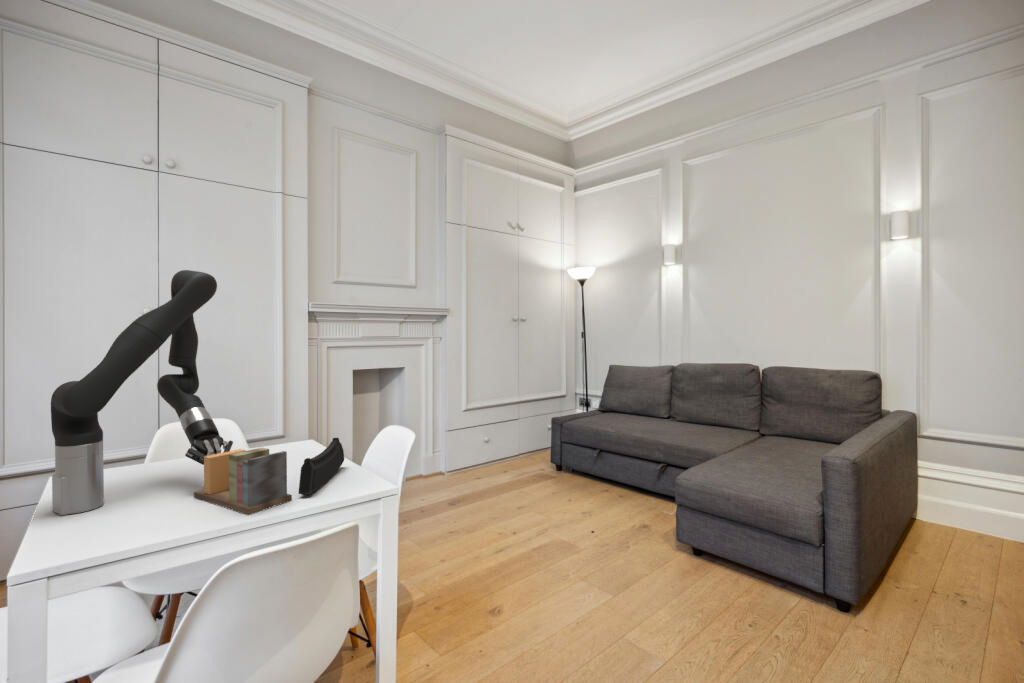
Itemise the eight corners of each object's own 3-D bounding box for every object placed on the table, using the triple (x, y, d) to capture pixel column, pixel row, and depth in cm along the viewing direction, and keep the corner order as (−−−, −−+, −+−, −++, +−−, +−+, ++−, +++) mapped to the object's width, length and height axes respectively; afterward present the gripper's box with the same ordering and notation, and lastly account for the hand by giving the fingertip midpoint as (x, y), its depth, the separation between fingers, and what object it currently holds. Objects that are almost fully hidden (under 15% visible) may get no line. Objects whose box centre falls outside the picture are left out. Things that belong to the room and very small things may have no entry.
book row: (248, 515, 116) (247, 461, 116) (193, 497, 129) (193, 449, 129) (291, 500, 127) (291, 451, 127) (237, 485, 140) (237, 440, 139)
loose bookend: (210, 494, 127) (209, 458, 127) (204, 492, 128) (203, 456, 128) (246, 484, 136) (246, 450, 135) (240, 482, 137) (240, 449, 137)
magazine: (306, 468, 126) (340, 418, 154) (294, 468, 126) (330, 418, 154) (313, 521, 131) (345, 463, 160) (302, 521, 131) (335, 463, 159)
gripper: (178, 421, 132) (202, 470, 126) (226, 414, 143) (250, 459, 137) (169, 438, 134) (192, 486, 129) (217, 430, 146) (239, 474, 140)
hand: (222, 472), depth 133 cm, fingers closed
